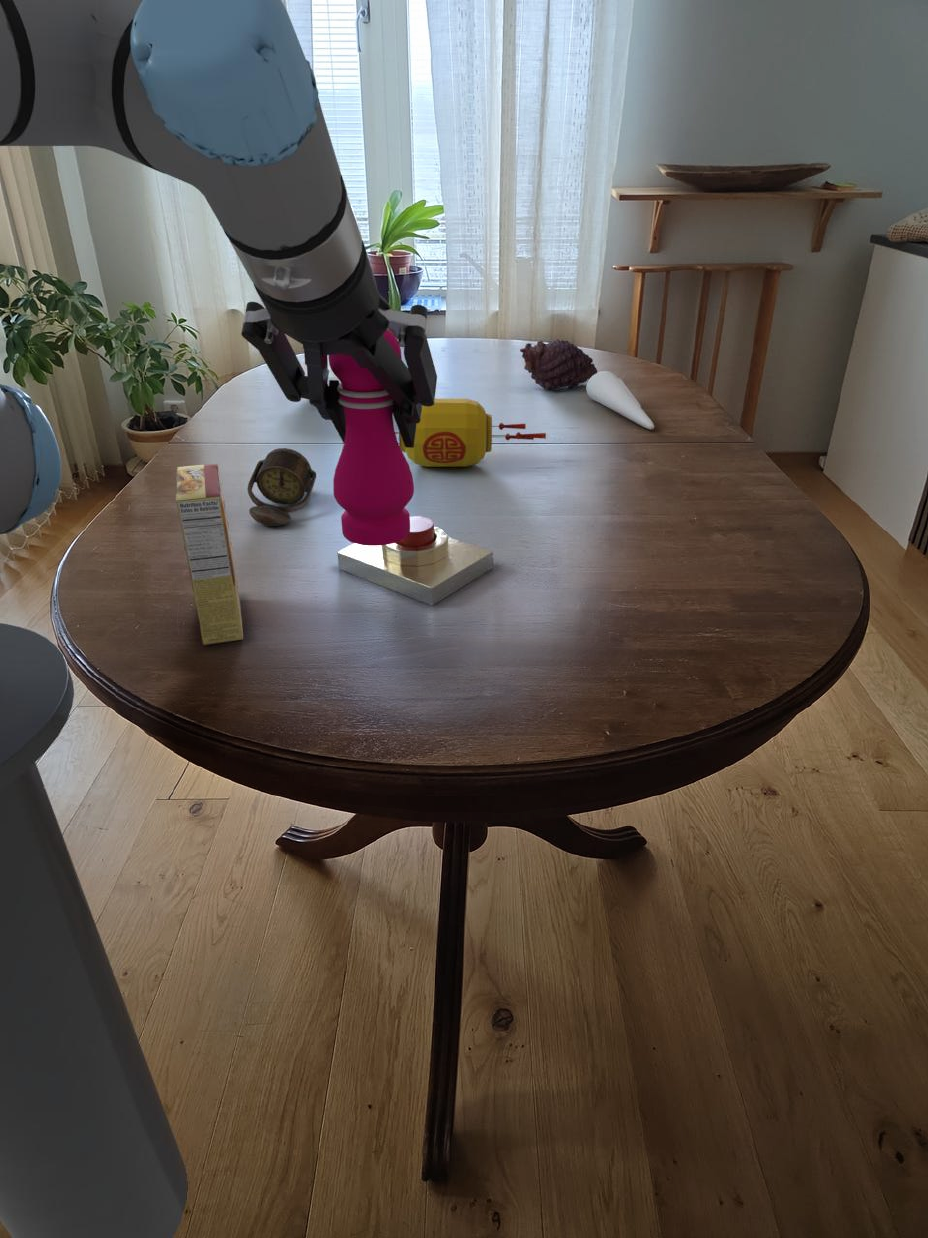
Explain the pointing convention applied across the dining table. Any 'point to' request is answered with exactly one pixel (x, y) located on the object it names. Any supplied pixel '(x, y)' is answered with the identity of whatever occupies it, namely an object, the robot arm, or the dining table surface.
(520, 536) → the dining table surface
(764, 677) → the dining table surface
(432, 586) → the control block
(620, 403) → the long cone
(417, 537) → the button
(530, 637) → the dining table surface
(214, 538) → the candy box
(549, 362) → the pine cone
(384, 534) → the pepper mill
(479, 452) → the lantern
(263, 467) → the brass desk clock
